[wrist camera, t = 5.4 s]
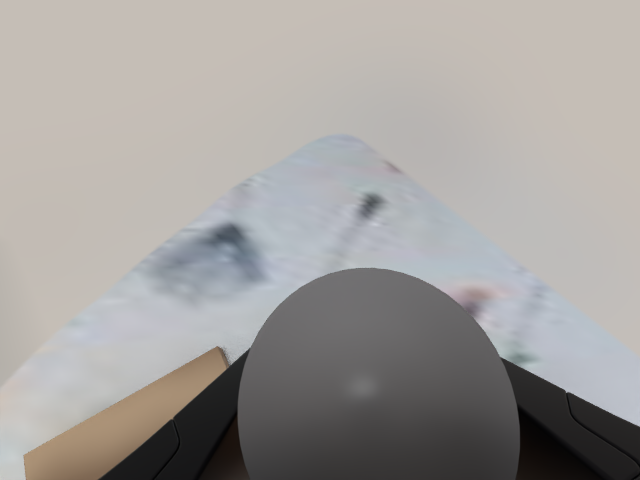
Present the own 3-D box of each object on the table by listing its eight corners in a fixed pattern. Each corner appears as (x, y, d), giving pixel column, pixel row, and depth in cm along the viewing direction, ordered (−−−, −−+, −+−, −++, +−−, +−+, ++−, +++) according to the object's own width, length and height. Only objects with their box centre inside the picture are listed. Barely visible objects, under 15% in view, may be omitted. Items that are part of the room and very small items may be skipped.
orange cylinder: (411, 423, 14) (584, 440, 4) (335, 485, 13) (341, 687, 3) (356, 344, 16) (393, 229, 6) (286, 394, 15) (194, 353, 5)
